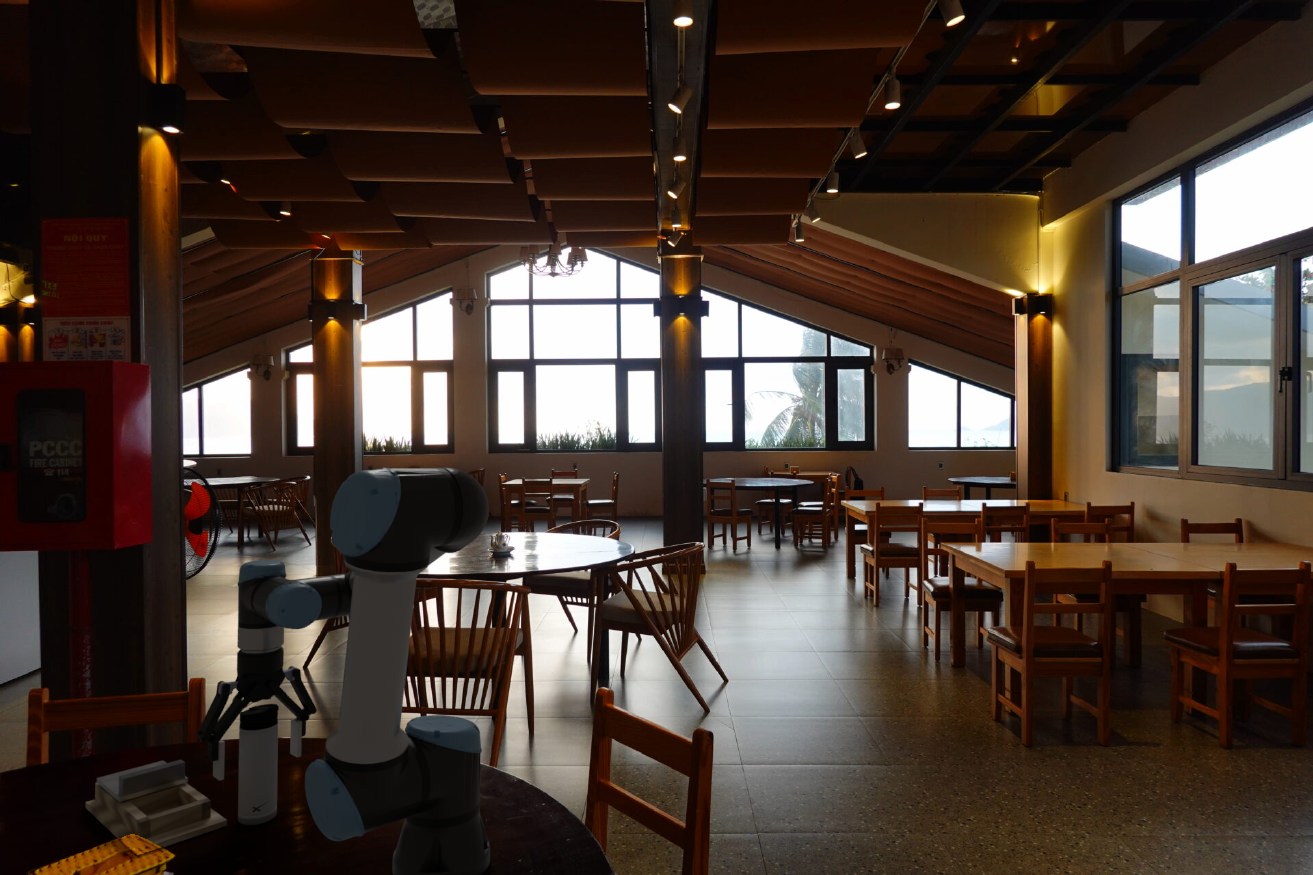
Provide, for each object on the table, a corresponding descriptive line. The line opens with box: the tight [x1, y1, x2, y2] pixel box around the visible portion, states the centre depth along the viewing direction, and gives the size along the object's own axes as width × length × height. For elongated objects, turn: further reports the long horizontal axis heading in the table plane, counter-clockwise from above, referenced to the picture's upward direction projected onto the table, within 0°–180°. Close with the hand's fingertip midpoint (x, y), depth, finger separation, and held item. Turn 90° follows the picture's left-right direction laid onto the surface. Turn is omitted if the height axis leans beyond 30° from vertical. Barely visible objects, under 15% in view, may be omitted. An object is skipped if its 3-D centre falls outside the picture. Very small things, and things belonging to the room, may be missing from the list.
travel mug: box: [237, 703, 280, 826], centre depth 147 cm, size 6×7×20 cm
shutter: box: [96, 759, 189, 802], centre depth 150 cm, size 12×11×4 cm
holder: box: [84, 782, 228, 848], centre depth 146 cm, size 26×14×4 cm, turn 50°
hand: (258, 766), depth 147 cm, fingers open, 13 cm apart
